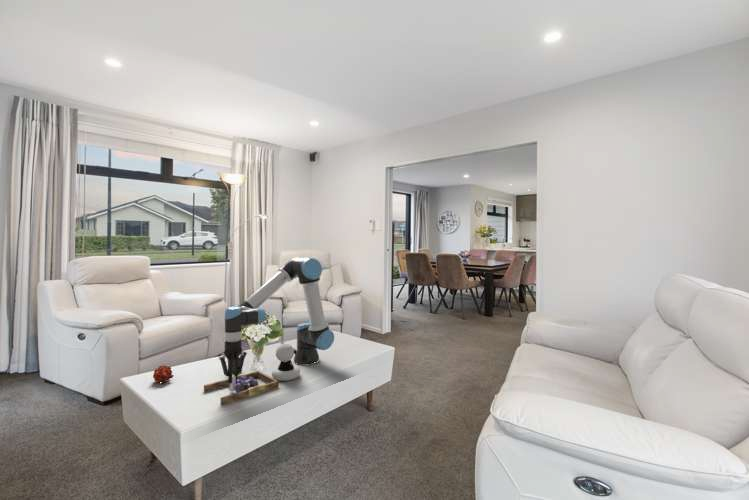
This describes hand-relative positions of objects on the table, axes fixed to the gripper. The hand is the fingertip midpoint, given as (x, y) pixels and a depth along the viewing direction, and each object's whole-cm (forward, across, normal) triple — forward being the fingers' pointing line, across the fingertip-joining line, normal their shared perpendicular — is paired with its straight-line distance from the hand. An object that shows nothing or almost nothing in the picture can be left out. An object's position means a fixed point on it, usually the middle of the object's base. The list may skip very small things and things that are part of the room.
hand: (232, 389), depth 167 cm
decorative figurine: (+2, -28, +1) cm, 29 cm away
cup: (+2, -12, -23) cm, 26 cm away
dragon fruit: (+2, +20, -37) cm, 42 cm away
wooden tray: (+1, -4, 0) cm, 5 cm away
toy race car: (+2, -5, -1) cm, 6 cm away
